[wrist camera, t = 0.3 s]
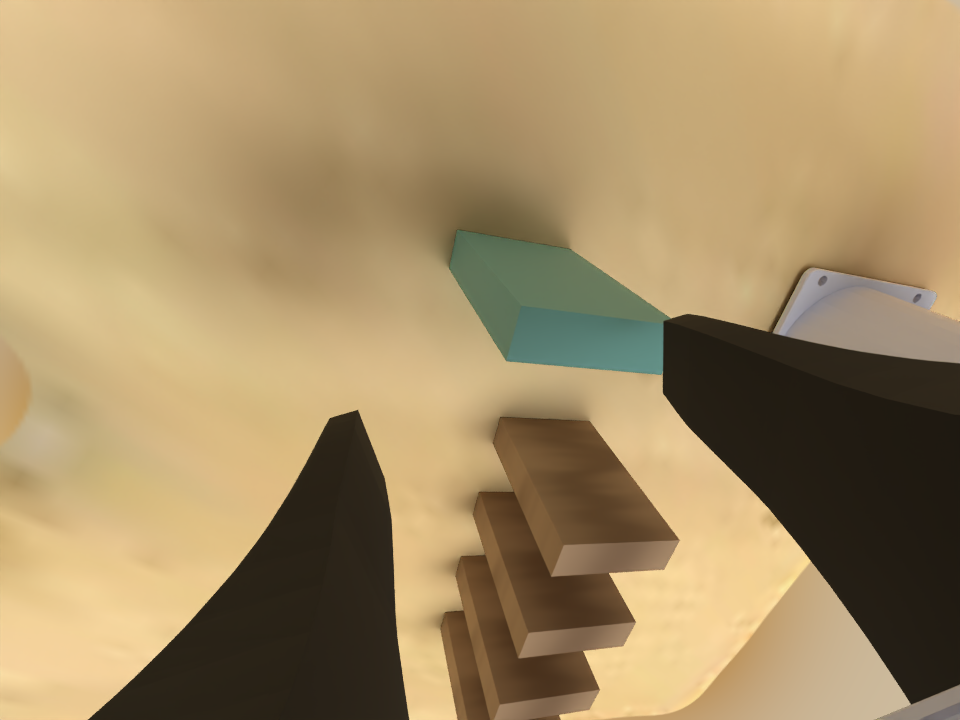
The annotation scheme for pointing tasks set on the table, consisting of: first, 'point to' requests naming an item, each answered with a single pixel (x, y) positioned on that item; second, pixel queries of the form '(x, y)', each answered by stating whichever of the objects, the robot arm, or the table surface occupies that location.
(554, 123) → the table surface
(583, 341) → the teal domino
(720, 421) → the robot arm
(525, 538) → the walnut domino
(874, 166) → the table surface
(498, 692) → the walnut domino
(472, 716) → the walnut domino
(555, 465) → the walnut domino
